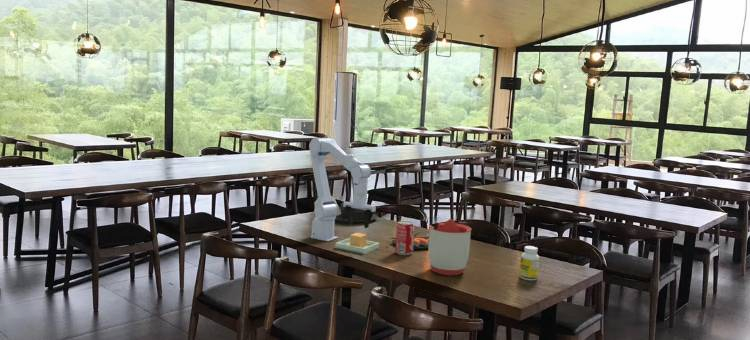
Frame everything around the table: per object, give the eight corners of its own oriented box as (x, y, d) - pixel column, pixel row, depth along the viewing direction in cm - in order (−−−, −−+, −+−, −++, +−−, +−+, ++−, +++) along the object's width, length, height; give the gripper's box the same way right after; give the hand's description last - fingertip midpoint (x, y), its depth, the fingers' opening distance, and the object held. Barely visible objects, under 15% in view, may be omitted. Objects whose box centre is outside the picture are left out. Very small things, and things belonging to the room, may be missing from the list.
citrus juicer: (437, 261, 236) (440, 211, 234) (476, 272, 226) (480, 219, 223) (414, 269, 224) (417, 217, 222) (453, 280, 214) (457, 225, 211)
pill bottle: (516, 275, 224) (519, 244, 223) (533, 275, 225) (536, 245, 223) (522, 280, 218) (525, 249, 216) (539, 281, 218) (542, 250, 217)
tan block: (349, 246, 249) (350, 234, 249) (356, 244, 254) (356, 232, 253) (359, 248, 247) (360, 236, 246) (366, 246, 251) (366, 234, 250)
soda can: (412, 256, 242) (414, 225, 240) (394, 255, 243) (396, 223, 241) (413, 251, 249) (415, 221, 247) (396, 250, 250) (397, 219, 248)
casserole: (348, 227, 286) (348, 210, 285) (324, 219, 299) (325, 203, 298) (386, 221, 302) (387, 205, 301) (362, 214, 316) (363, 199, 315)
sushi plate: (402, 253, 248) (403, 244, 248) (377, 235, 276) (377, 226, 275) (464, 249, 258) (465, 241, 258) (434, 232, 286) (434, 225, 286)
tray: (335, 248, 248) (335, 242, 248) (351, 242, 259) (351, 237, 258) (364, 254, 241) (364, 248, 241) (379, 248, 252) (379, 243, 251)
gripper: (340, 192, 247) (338, 224, 249) (370, 197, 240) (368, 230, 242) (349, 190, 253) (347, 222, 255) (379, 195, 246) (377, 227, 248)
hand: (358, 226), depth 249 cm, fingers open, 7 cm apart
